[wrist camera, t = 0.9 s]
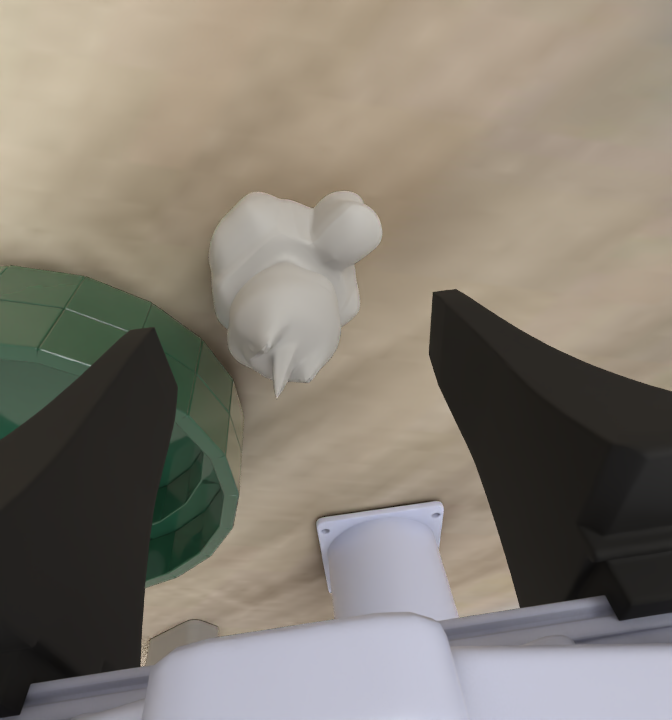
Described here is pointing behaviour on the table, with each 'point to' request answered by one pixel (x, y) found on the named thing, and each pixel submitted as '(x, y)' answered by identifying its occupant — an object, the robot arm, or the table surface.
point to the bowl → (193, 410)
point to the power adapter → (179, 639)
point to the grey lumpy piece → (289, 279)
